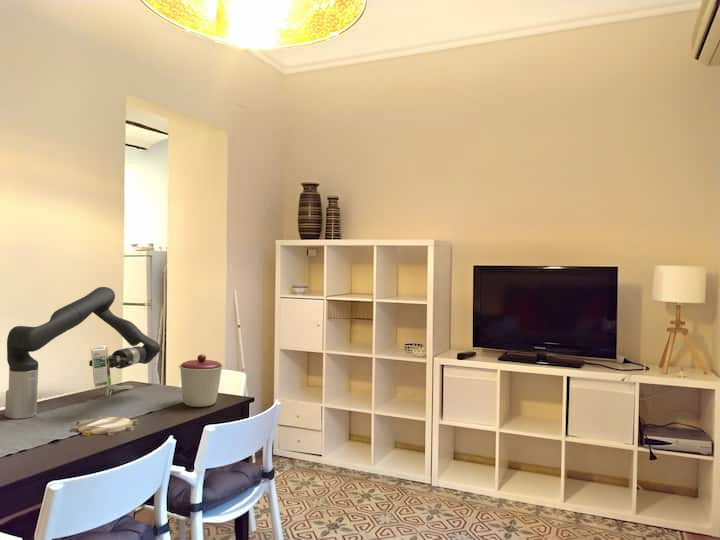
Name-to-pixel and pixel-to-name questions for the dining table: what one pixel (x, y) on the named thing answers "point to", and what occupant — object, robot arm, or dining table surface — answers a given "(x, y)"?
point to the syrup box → (100, 366)
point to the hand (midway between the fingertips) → (100, 364)
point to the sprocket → (104, 425)
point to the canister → (200, 381)
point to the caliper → (115, 389)
